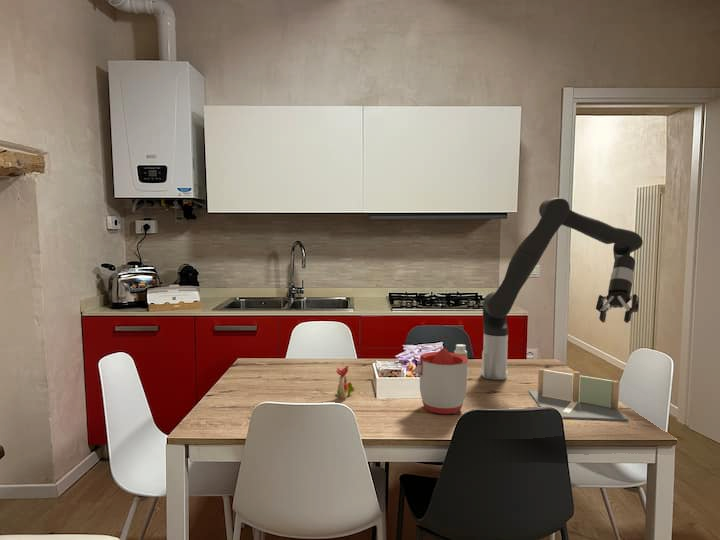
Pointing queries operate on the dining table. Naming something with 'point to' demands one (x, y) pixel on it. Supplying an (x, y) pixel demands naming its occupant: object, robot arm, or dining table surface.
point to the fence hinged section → (599, 392)
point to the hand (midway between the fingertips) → (614, 321)
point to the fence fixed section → (559, 384)
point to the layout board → (579, 408)
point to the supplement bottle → (461, 349)
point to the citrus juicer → (442, 381)
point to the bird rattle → (344, 384)
